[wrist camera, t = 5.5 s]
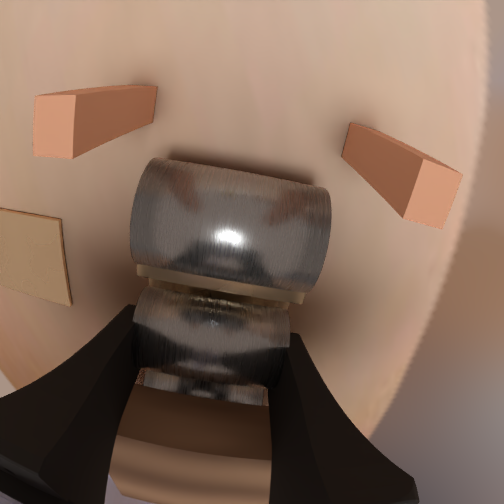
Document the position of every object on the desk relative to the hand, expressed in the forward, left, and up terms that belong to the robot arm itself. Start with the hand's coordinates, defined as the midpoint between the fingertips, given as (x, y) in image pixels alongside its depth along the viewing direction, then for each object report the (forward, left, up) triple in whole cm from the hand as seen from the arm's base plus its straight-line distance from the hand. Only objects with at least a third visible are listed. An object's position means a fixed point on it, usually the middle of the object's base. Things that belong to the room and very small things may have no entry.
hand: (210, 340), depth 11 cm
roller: (0, 0, -1) cm, 1 cm away
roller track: (-4, +5, -2) cm, 7 cm away
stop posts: (+7, 0, -2) cm, 8 cm away
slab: (-7, 0, +1) cm, 7 cm away
